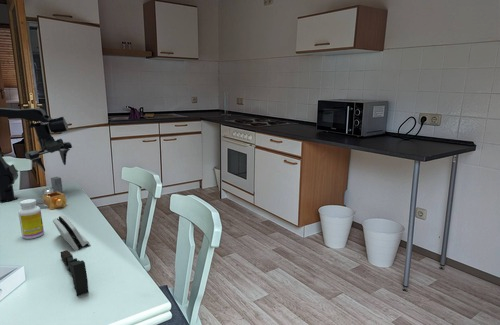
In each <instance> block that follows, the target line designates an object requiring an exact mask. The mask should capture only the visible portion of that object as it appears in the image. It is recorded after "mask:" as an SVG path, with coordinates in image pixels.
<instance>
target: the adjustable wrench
mask: <svg viewBox="0 0 500 325" xmlns="http://www.w3.org/2000/svg"><path fill="white" fill-rule="evenodd" d="M60 258H61V262H63V263H64V265H65V266H66V267H67V271H68V272H69V273H70V276H71V279H72V283H73V284H72V285H73V288H74V290H75V293H76V294H75V295H76V296H77V297H79V296H81V295H84V294H87V293H88V294H89V284H88V283H89V282H88V281H89V280H88V274H87V267H86V262H85V261H84V260H79V259H78V258H77V257H75V258H74V256H73V254H72V253H71V252H70V251H69V250H68V249H66V250H63V251H60Z"/></svg>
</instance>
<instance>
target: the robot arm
mask: <svg viewBox="0 0 500 325" xmlns="http://www.w3.org/2000/svg"><path fill="white" fill-rule="evenodd" d="M64 117H65V116H60V117H57V118H56V117H55V118H52V117H50V115H48V114H47V113H46V111H45V110H44V109H43V108H41V107H32V108H21V109H20V108H10V107H9V108H7V107H0V118H13V119H14V118H15V119H22V120H25V121H30V124H29V125H28V127H27V128H28V129H32V128H33V129H34V131H35V134H36V138H37V142H38V143H39V149H40V150H32V151H27V152H25V154H24V156H25V159H26V160H30V161H33V162H34V163H36V164H37V165H38V166H39V167H40V169H41V170H42V171H43V172H46V168H45V165H44V163H43V161H42V157H40V156H41V155H45V154H49V153H51V154H52V153H56V152H59V155H60V158H61V160H62V164H63V165H64V166H66V164H67V155H68V153H69V151H70V150H71V149H72V148H73V146H72V143H71V142H69V141H65V142H64V140H63V139H62V138H58V139H56V140H55V138H54V136H53V135H52V133H53V134H59V133H65V132H68V131H69V125H68V123H67V121H66V119H65V118H64ZM18 178H19V171H18V170H17V168H16V167H15V165H14V163H12V164H8V163H7V162H6V160H5V159H4V158H3V155H2V154H1V153H0V203H5V202H10V201H15V200H18V199H19V197H17V196H15V191H14V186H13V185H14V184H15V181H16V180H18Z"/></svg>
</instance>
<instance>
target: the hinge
mask: <svg viewBox="0 0 500 325" xmlns="http://www.w3.org/2000/svg"><path fill="white" fill-rule="evenodd" d="M52 223H53V224H54V226H55V228H56V229H57V231H58V232H59V234H60V235H61V237H62V238H63V239H64V240H65V242H67V243H68V244H69V246H70V247H71V248H72V249H73V250H74V251H78V250H79V248H80V247H84V246H86V245H88V247H91V246H92V244H91V243H90V241H88V239H87V238H85V237H84V235H83V234H81V233H80V232H79V231H78V229H77V228H76V226H75V225H74V224H73V223H72V221H71V220H70V219H69V218H68V217H67V216H66V215H64V214H61V215H59V216H58V218H56V217H55V218H54V219H53V220H52Z"/></svg>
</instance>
